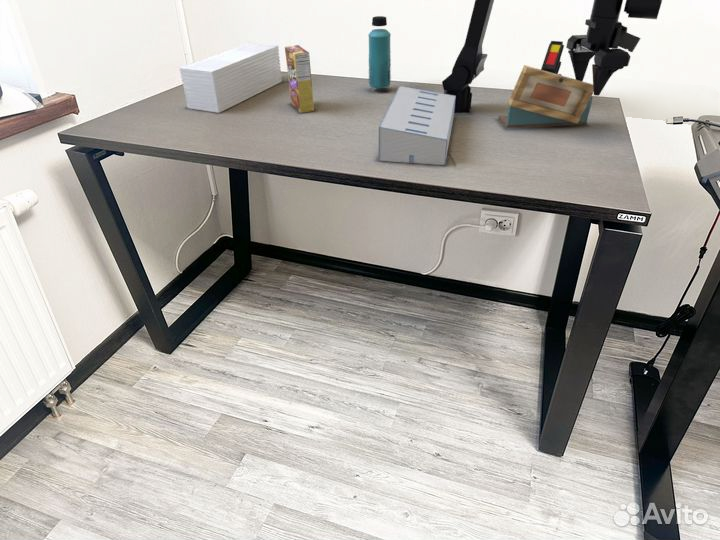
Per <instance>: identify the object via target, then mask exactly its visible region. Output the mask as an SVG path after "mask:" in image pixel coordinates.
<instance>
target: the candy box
mask: <svg viewBox="0 0 720 540" xmlns="http://www.w3.org/2000/svg"><path fill="white" fill-rule="evenodd" d="M284 53H285V60H286V70H287V77H288V78H287V79H288V88H289V96H290V103H291V105H292V106H293V107H294V108H295V109H296V110H297V111H298V112H299V113H300V114H303V113H309V112H314V111H315V106H314V105H315V104H314V95H313V94H314V93H313V81H312V70H311V57H310V52H309V51H307V50H306V49H305V48H303V47H302V46H300V44H295V45H288V46H284Z"/></svg>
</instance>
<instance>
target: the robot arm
mask: <svg viewBox="0 0 720 540" xmlns="http://www.w3.org/2000/svg"><path fill="white" fill-rule="evenodd" d="M494 3H495V0H474V4H473V9H472V11H471V17H470V20H469V25H468V29H467V32H466V33H467V34H466V36H465V41H464V44H463V47H462V48H461V50H460V52H459V54H458V55H457V58H456V60H455V61H454V65H453V67H452V70H451V73H450V74H449V75H448V76H447V77H446V78H444V79H443V80H442V82H441V85H442V89H443V94H448V95H454V96H456V100H455V111H454V114H468V113H471V109H472V101H473V100H472V99H473V92H472V91H471V90H472V87H471V86H470V85H472V83H473V81H474V80H475V79H476V78H477V77H479V75H480V74H481V73H482V72H483V71H485V63H486V60H487V58H488V54H487V53H483V44H484V40H485V36H486V32H487V30H488V29H487V28H488V24H489V21H490V18H491V13H492V11H493V6H494ZM623 3H625V4H624V8H623V7H622V6H623ZM662 3H663V0H625V2H624V0H593V3H592V8H591V13H590V17H589V19H585V22H584V25H586V26H587V31H586V34H572V35H571V36H570V37H569V38H568V39H567V42H566V45H565V48H566V49H568V54H569V58H570V61H571V66H572V69H573V73H574V79H576V80H579V81H583V82H584V79H585V77H586V76H585V75H586V73H587V70H588V67H589V63H590V61H591V59H593V62H594V63H592V65H591V69H592V71H591V73H592V84H593V91H594V92H593V96H596V97H597V96H600V95H601V93H602V92H603V90H604V88H605V87H606V84H607V83H608V82H609V80H610V78H611V77H612V76H613V74H614V73H616V72H617V71H619V70H623V69H624V68H625V67H628V66H629V64H630V61H631V55H630V53H633V52H634V51H635V49H636V48H637V45H638V44H639V42H640V40H641V37H639V36H637V35H634V34H631V33H629V32H628V26H625V25H623V23H622V22H621V21H619V19H620V14H621V11H622V8H623V12H624V13H625V14H627V18H630V19H645V20H646V19H647V20H658V16H659V14H660V10H661V7H662ZM626 50H627V51H626Z"/></svg>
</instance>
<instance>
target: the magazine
mask: <svg viewBox="0 0 720 540" xmlns="http://www.w3.org/2000/svg"><path fill="white" fill-rule="evenodd" d="M564 48H565V44H564V41H559V40H551V41H550V43H549V44H548V47H547V50H546V52H545V53H546V54H545V56H544V59H543V61H542V65H541V68H540V70H544V71H547V72H551V73H554V74H559V71H560V68H561V65H562V61H561V59H562V58H561V57H562V54H563V51H564Z"/></svg>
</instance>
